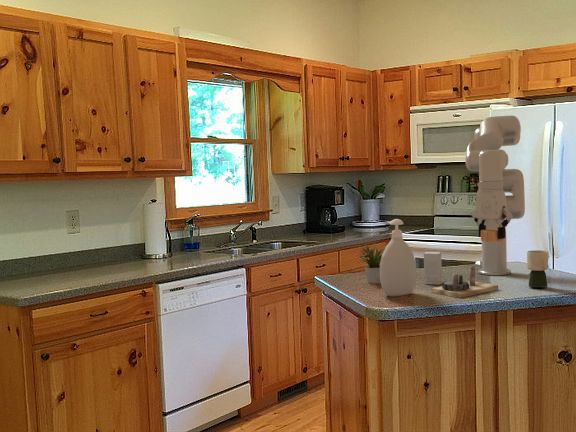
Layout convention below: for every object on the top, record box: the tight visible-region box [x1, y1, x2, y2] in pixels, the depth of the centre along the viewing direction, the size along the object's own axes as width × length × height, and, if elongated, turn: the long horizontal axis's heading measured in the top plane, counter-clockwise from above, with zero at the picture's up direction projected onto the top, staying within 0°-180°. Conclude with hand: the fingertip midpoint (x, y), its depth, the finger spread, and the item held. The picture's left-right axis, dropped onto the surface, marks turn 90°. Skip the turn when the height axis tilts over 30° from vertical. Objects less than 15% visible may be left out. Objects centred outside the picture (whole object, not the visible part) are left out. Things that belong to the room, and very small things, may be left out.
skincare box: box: [423, 251, 443, 286], centre depth 225 cm, size 6×4×12 cm
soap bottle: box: [379, 218, 417, 298], centre depth 208 cm, size 14×8×27 cm, turn 113°
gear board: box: [430, 265, 499, 299], centre depth 210 cm, size 13×20×8 cm, turn 122°
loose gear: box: [480, 229, 503, 242], centre depth 203 cm, size 7×7×4 cm
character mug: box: [526, 249, 550, 289], centre depth 210 cm, size 11×7×13 cm, turn 8°
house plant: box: [356, 243, 387, 284], centre depth 233 cm, size 14×14×16 cm
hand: (491, 237), depth 204 cm, fingers closed on loose gear, 7 cm apart
